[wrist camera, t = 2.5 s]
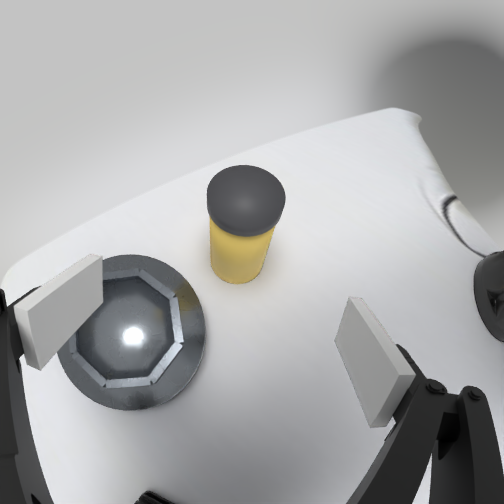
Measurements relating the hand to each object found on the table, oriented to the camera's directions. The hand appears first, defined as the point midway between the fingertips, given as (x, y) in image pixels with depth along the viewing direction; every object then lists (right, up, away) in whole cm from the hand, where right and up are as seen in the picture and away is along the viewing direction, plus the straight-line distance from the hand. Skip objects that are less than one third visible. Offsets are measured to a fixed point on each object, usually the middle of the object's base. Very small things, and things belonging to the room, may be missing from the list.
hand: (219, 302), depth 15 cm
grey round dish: (-11, -6, +14) cm, 19 cm away
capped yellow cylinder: (0, +2, +20) cm, 20 cm away
